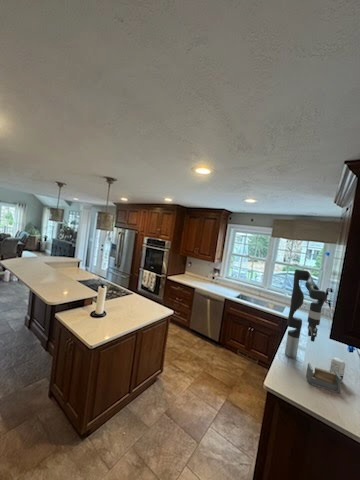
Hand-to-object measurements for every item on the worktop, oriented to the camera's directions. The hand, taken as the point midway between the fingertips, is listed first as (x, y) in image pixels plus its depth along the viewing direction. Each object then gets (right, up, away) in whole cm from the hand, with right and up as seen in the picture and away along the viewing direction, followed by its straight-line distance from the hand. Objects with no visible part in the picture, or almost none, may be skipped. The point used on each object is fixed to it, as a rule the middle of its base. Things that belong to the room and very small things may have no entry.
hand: (310, 338), depth 154 cm
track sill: (+4, -29, -6) cm, 30 cm away
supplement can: (+19, -32, +2) cm, 37 cm away
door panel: (+5, -28, -7) cm, 30 cm away
